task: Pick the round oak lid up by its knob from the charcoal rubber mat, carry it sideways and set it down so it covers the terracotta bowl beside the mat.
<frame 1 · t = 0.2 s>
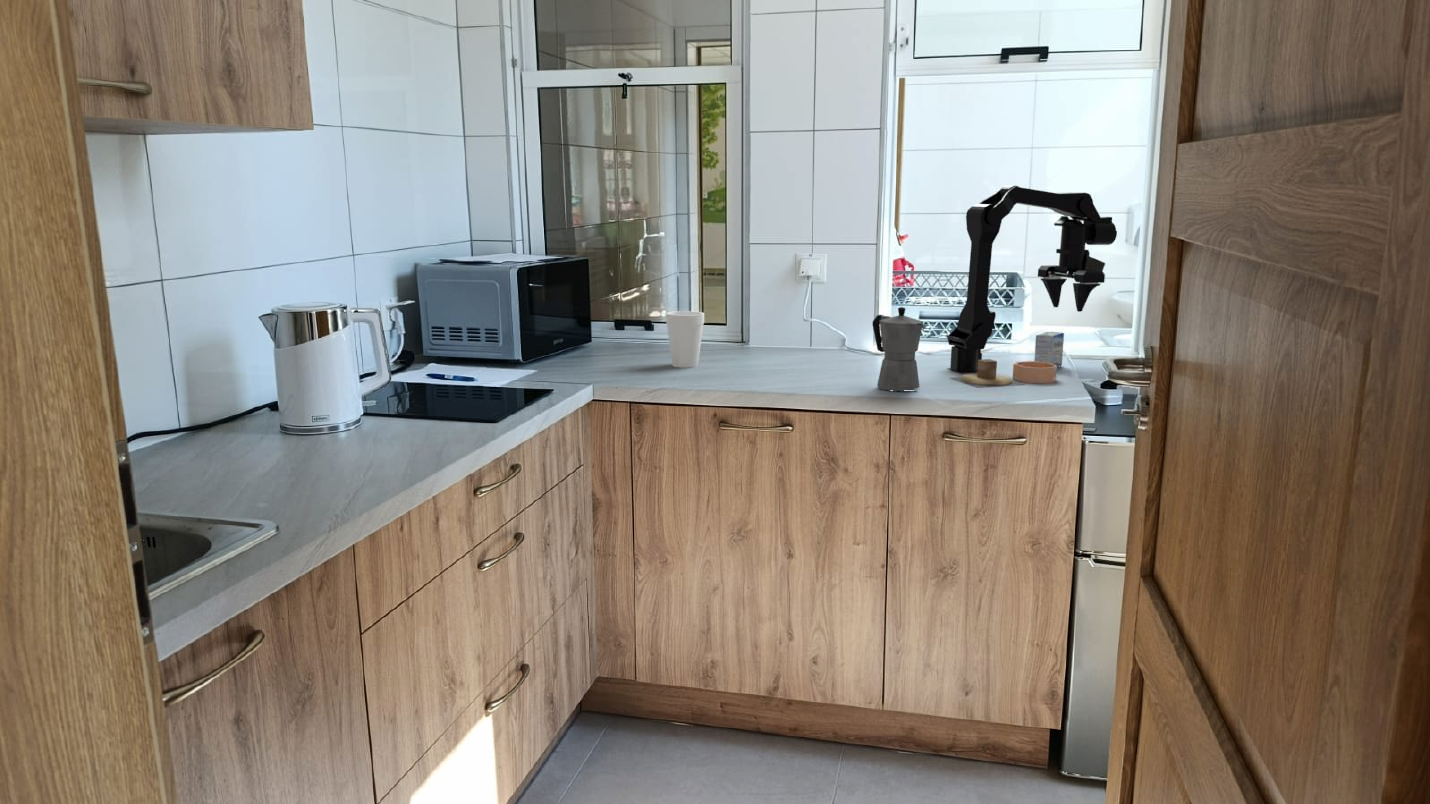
hand: (1067, 309, 250), 14 cm above the worktop, fingers open, 9 cm apart
foam cup: (685, 366, 252), on the worktop
lid: (986, 381, 231), point 1 cm above the worktop, touching mat
coffeepot: (894, 388, 226), on the worktop
bowl: (1034, 381, 234), on the worktop
mat: (986, 383, 231), on the worktop
medicine box: (1047, 368, 252), on the worktop
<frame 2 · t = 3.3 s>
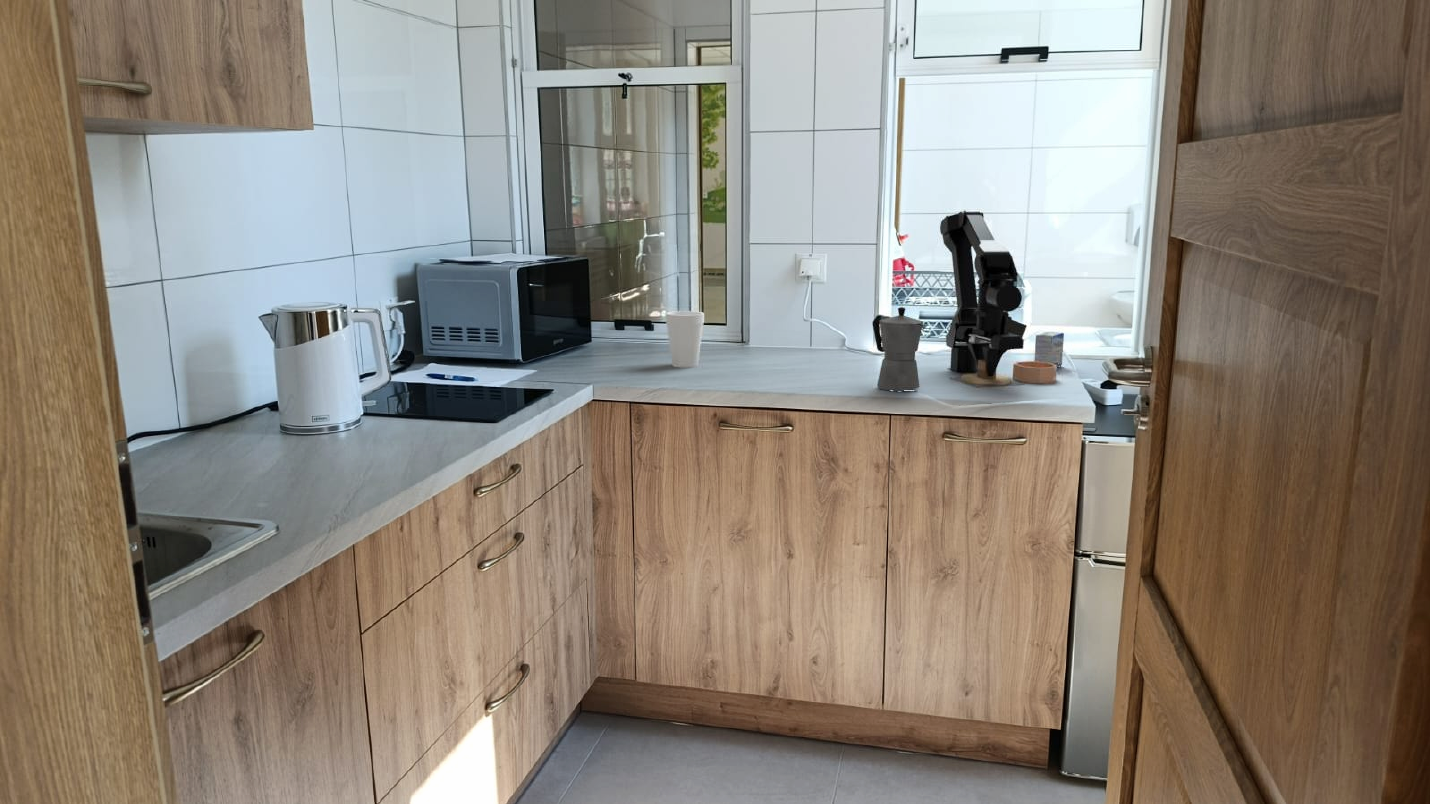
hand: (986, 375, 230), 2 cm above the worktop, fingers closed on lid, 3 cm apart
lid: (986, 381, 231), point 1 cm above the worktop, touching gripper, mat
everything else where it was.
when the fingers open (6 cm above the worktop, at t = 6.7 s): lid drops 1 cm, resting on bowl.
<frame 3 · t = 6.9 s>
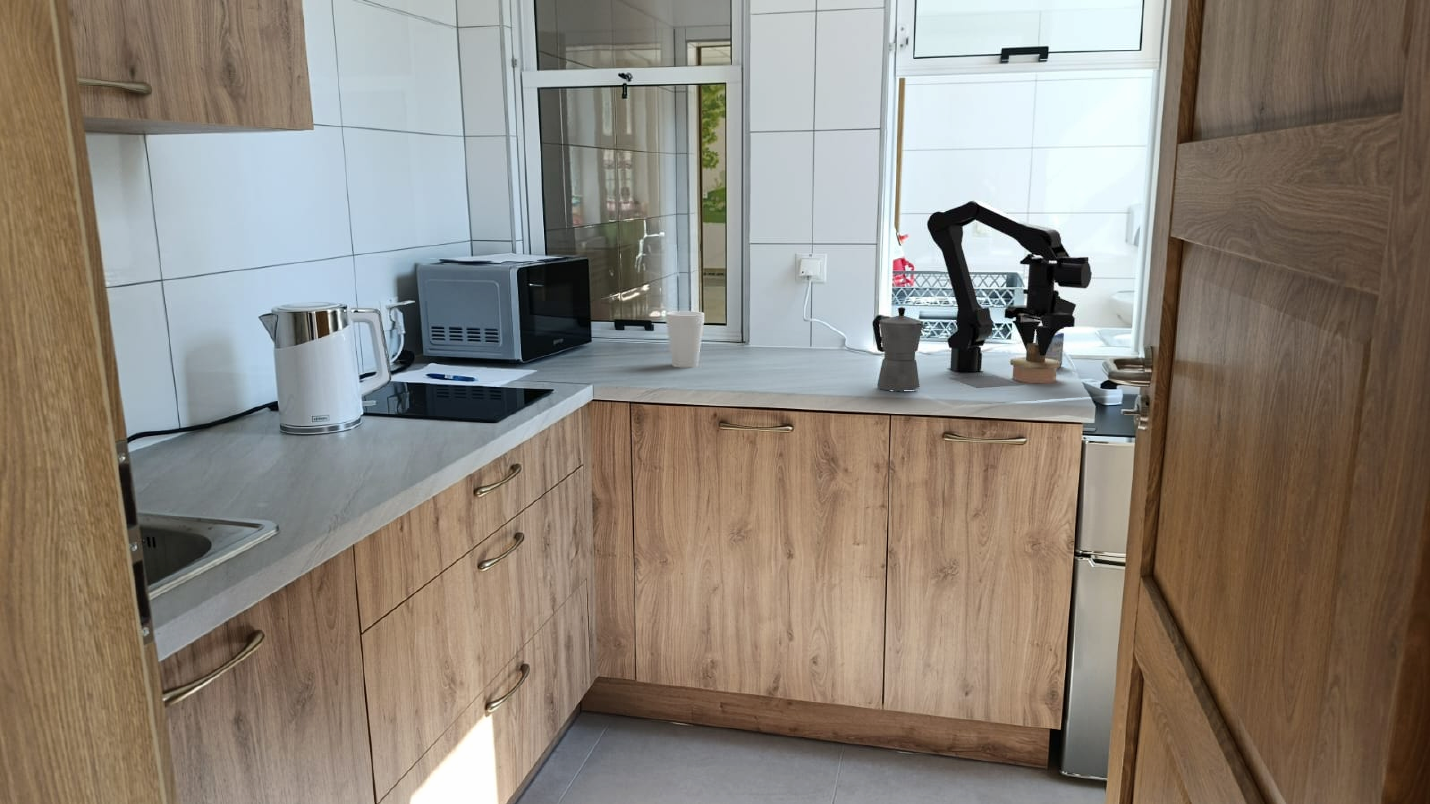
hand: (1035, 353, 232), 6 cm above the worktop, fingers open, 5 cm apart
lid: (1035, 364, 233), point 4 cm above the worktop, touching bowl
everything else where it was.
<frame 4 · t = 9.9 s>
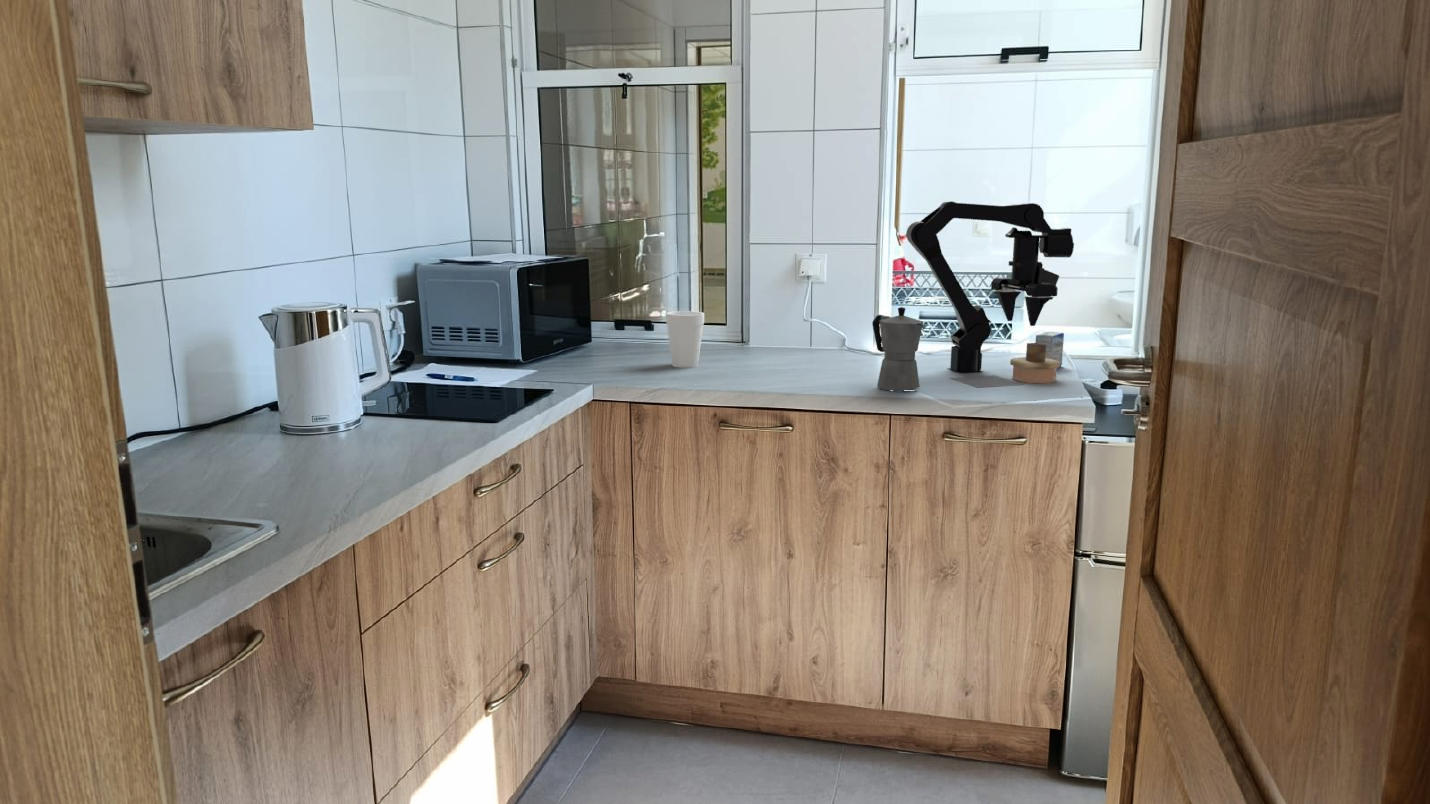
hand: (1020, 323, 242), 12 cm above the worktop, fingers open, 9 cm apart
nothing on the worktop moved.
at the end: lid 0.1 cm off-centre on the bowl, point 4.0 cm above the bowl's base; lid tilted 0°; the gripper is holding nothing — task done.
